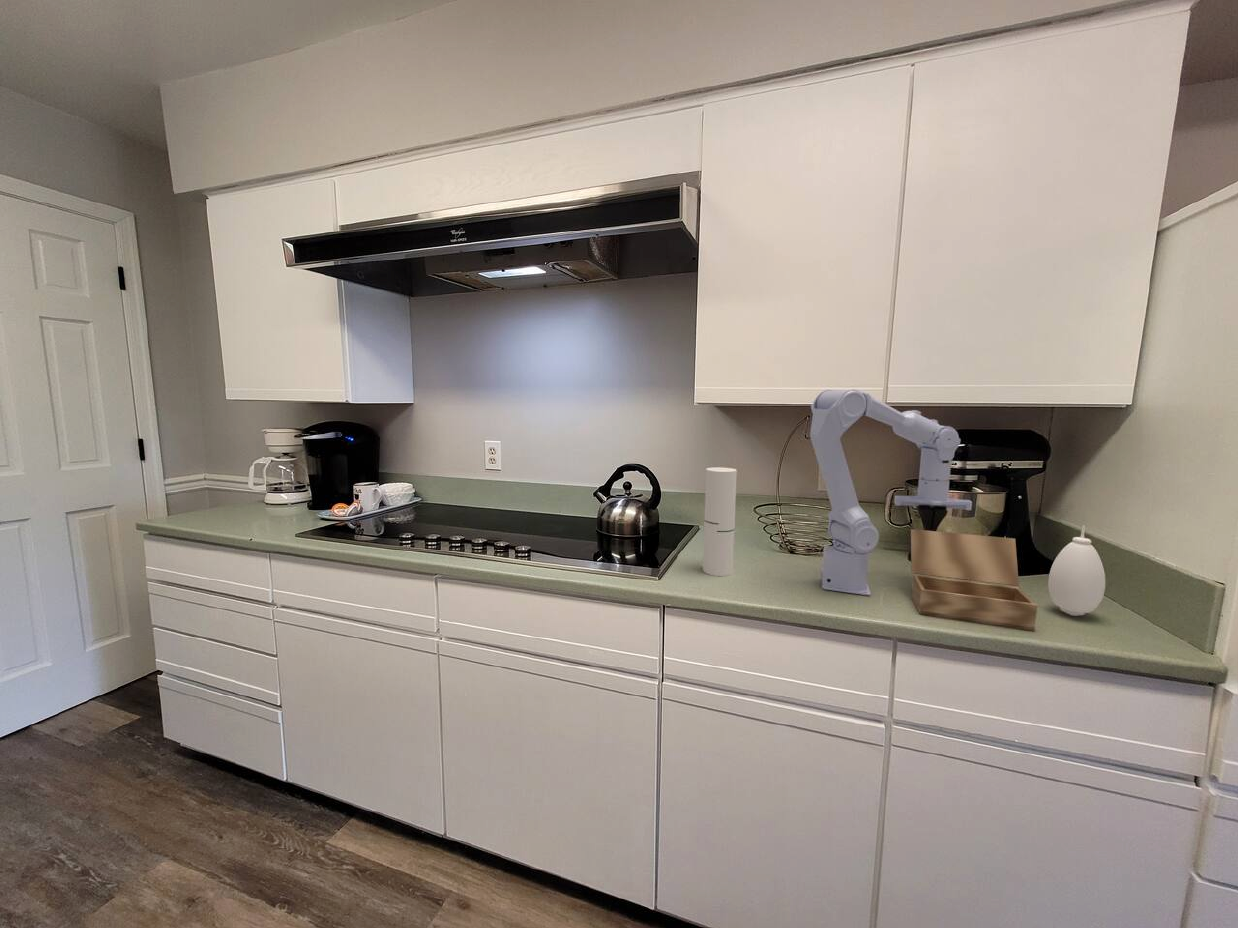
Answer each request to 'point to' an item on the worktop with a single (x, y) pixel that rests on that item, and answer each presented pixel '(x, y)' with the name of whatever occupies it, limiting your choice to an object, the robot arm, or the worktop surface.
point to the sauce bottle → (1077, 577)
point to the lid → (964, 557)
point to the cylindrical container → (719, 521)
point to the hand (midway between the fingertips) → (928, 538)
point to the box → (974, 602)
